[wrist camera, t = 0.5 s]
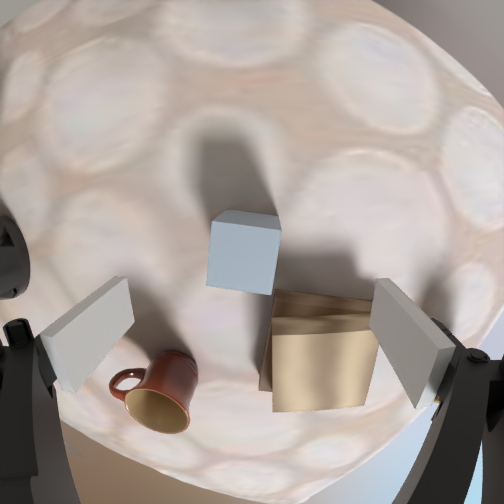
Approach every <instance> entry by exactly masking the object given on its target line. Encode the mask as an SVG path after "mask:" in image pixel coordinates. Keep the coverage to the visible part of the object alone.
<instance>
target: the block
mask: <svg viewBox="0 0 504 504" xmlns="http://www.w3.org/2000/svg"><path fill="white" fill-rule="evenodd" d="M281 232H282V230H281V225H280V220H279V216H275V215H268V214H261V213H254V212H247V211H239V210H231V209H226V210H225V211H224V212H223V213H221V214H220V215H219V216H218V217H216V218H215V219H214V220H212V224H211V235H210V245H209V256H208V268H207V280H206V286H211V287H218V288H224V289H231V290H237V291H244V292H251V293H258V294H265V295H271V293H272V287H273V282H274V275H275V269H276V263H277V257H278V251H279V244H280V238H281Z"/></svg>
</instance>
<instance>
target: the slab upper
mask: <svg viewBox="0 0 504 504" xmlns="http://www.w3.org/2000/svg"><path fill="white" fill-rule="evenodd" d="M370 316H371V313H361V314H347V315H330V316H308V317H275V318H272V376H273V412H301V411H317V410H329V409H339V408H348V407H356V406H364V404H365V401H366V397H367V393H368V390H369V386H370V382H371V378H372V374H373V370H374V365H375V361H376V356H377V352H378V347H379V342H378V341H377V339H376V337H375V336H374V334H373V332H372V330H371V329H370V327H369V321H370Z"/></svg>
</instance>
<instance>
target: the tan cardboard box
mask: <svg viewBox="0 0 504 504" xmlns="http://www.w3.org/2000/svg"><path fill="white" fill-rule="evenodd" d="M372 303H373V301H371V300H361V299H352V298H343V297H334V296H326V295H317V294H309V293H301V292H294V291H286V290H278V289H275V295H274V300H273V306H272V312H271V317H270V323H269V328H268V334H267V339H266V344H265V350H264V355H263V360H262V365H261V370H260V376H259V390H260V391H268V392H273V376H272V318H275V317H308V316H330V315H347V314H361V313H371V310H372Z"/></svg>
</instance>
